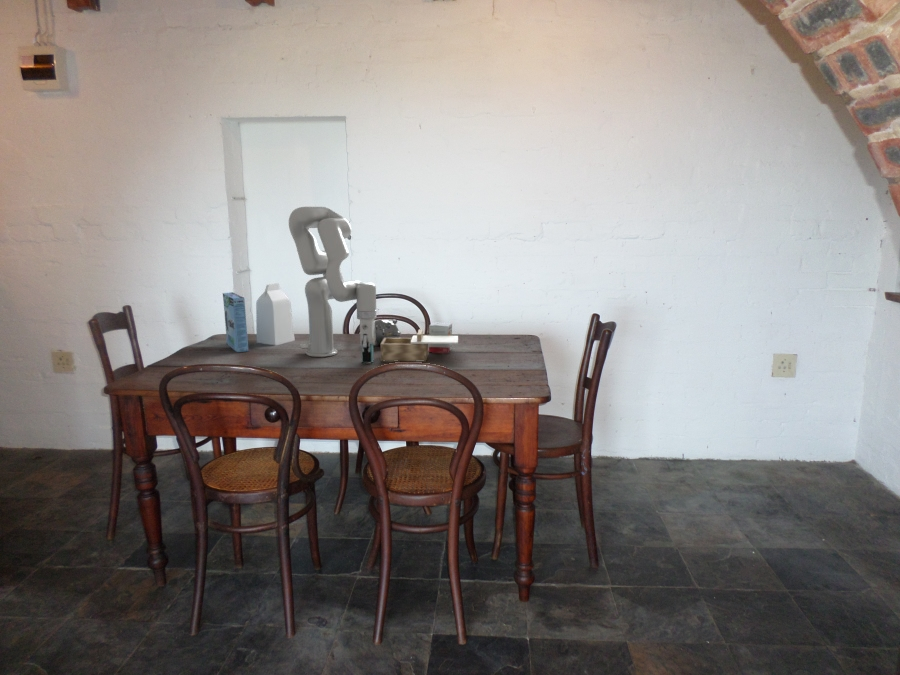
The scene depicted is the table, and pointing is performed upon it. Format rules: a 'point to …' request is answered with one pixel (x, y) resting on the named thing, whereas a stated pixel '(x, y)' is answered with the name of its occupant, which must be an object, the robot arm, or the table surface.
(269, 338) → the milk
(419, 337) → the lid
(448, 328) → the ink box
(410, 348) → the tan open box
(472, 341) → the table surface
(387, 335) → the piggy bank
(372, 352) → the block
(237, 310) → the blue cereal box
